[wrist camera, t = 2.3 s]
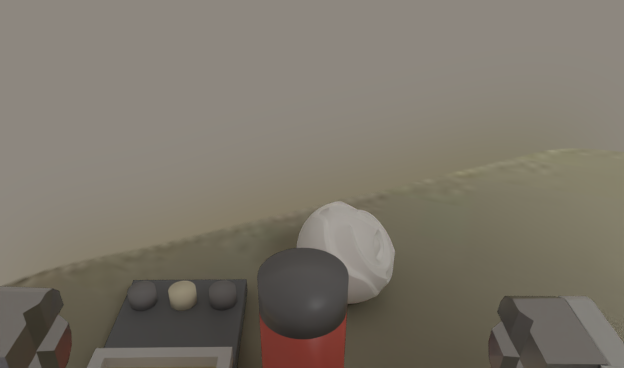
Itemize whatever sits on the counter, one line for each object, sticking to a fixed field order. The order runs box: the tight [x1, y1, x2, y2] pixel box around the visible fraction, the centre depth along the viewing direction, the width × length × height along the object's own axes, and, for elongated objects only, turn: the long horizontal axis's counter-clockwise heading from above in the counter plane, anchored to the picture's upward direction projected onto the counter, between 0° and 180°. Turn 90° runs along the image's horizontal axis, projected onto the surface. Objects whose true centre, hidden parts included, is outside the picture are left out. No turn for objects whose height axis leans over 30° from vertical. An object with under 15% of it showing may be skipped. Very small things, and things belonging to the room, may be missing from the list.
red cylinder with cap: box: [257, 248, 349, 368], centre depth 27 cm, size 4×4×12 cm
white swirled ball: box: [296, 201, 395, 304], centre depth 39 cm, size 8×8×8 cm
